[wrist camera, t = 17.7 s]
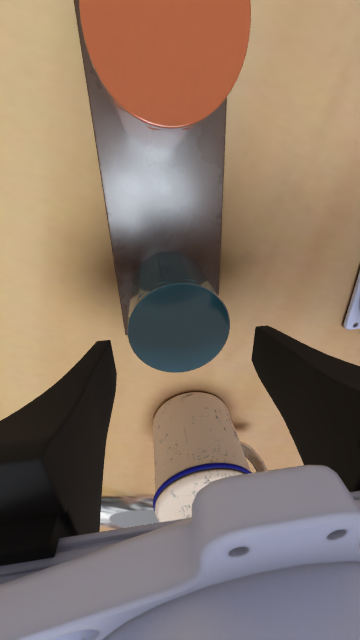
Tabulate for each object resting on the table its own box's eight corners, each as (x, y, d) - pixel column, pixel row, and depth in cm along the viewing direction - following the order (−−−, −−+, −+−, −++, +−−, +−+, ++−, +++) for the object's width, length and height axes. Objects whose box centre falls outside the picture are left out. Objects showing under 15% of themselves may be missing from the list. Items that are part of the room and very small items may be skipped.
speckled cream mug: (140, 439, 30) (139, 572, 20) (166, 381, 26) (180, 506, 16) (231, 452, 33) (270, 571, 23) (265, 401, 30) (329, 516, 19)
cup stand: (225, 3, 14) (277, -113, 9) (214, 320, 24) (236, 363, 18) (76, -1, 14) (29, -131, 8) (126, 328, 23) (120, 375, 17)
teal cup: (205, 248, 19) (233, 279, 13) (204, 316, 22) (227, 367, 16) (128, 253, 19) (120, 287, 13) (136, 322, 21) (133, 377, 15)
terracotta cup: (208, 19, 14) (260, -115, 8) (206, 148, 16) (244, 127, 10) (98, 17, 13) (58, -130, 7) (115, 150, 16) (96, 129, 10)
